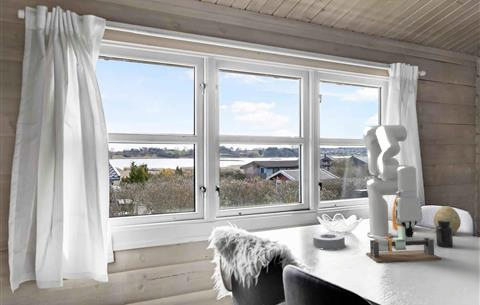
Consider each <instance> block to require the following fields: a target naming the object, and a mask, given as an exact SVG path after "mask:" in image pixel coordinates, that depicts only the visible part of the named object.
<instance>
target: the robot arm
mask: <svg viewBox="0 0 480 305" xmlns="http://www.w3.org/2000/svg"><path fill="white" fill-rule="evenodd" d="M362 138H363V143H364V144H365V147H366V152H367V167H368V172H369V174H370V175H372V176H380V177H374V178H373V177H372V178H370V179H368V180H367V181H366V186H365V187H366V191H367V196H368V209H369V210H368V213H369V215H368V216H369V217H368V218H369V232H367V233H366V236H367V237H369V238H371V239H374V238H382V237H383V238H384V237H388V238H390V239H392V238H393V235H392V233H391V232H390V230H389V229H390V228H389V208H388V207H389V206H388V201H387V200H386V199H385V198H384V197H383V196H398V198H397V199H396V206H395V217H396V223H398V224H402V225H403V227H404V228H405V238H406V237H407V238H414V228H415V226H416V225H417V224H418V225H419V224H420V223H422V220H423V209H422V204H421V203H422V202H421V200H420V197H419V196H418V188H417V187H418V186H417V183H418V182H417V168H416V166H415V165H414V166H413V165H409V164H400V163H399V160H398V159H397V158H395V157H396V156H397V155H398V154H399V153H400V152H401V146H400V143H399V142H405V141H406V140H407V138H408V131H407V128H406V127H405V126H404V125H403V124H386V125H381V124H380V125H371V126H370V125H369V126H367V127H365V128H364V129H363V132H362ZM408 221H409V224H408Z"/></svg>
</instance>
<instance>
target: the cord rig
mask: <svg viewBox="0 0 480 305" xmlns="http://www.w3.org/2000/svg"><path fill="white" fill-rule="evenodd" d="M434 240H435V239H432V238H430V237H423V240H422V239H421V240H420V239H419V240H405V241H406V247H407V246H408V247H409V246H423V249H420V250H418V249H417V250H394V251H393V248H392V246H395V242H392V238H388V237H384V238H383V237H382V238H373V239H372V240H371V239H370V240H369V246H370V252H365V255H366V256H367V257H368V258H369V259H371V260H372V259H373V260H372V261H374V262H375V261H376V262H375V263H377V264H384V263H383V262H386V263H403V262H404V263H406V262H422V261H423V262H424V261H425V262H426V261H441V259H442V258H441V257H440V256H438V255H436V254H435V242H434Z"/></svg>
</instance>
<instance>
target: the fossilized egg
mask: <svg viewBox="0 0 480 305" xmlns="http://www.w3.org/2000/svg"><path fill="white" fill-rule="evenodd" d="M438 220H447V221H450V225H449V226H450V227H451V228H452V234H454V233H456V232H458V230H459V229H460V227H461V222H462V221H461V217H460V215H459V213H458V212H457V211H456V210H455V209H454V208H453V207H452V206H448V205H444V206H442V207H440V208H438V209H437V211H436V212H434V216H433V223H434V226H435V228H436V227H437V226H439V225H438Z"/></svg>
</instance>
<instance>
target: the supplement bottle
mask: <svg viewBox="0 0 480 305" xmlns="http://www.w3.org/2000/svg"><path fill="white" fill-rule="evenodd" d="M438 225H439V226H437V227H436V226H435V233H436V234H435V236H436V237H435V239H436V240H435V241H436V246H437V247H439V248H452V247H453V246H454V240H453V239H454V238H453V237H454V235H453V234H454V233H452V228H451V227H450V226H449V225H450V221H447V220H438Z"/></svg>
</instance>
